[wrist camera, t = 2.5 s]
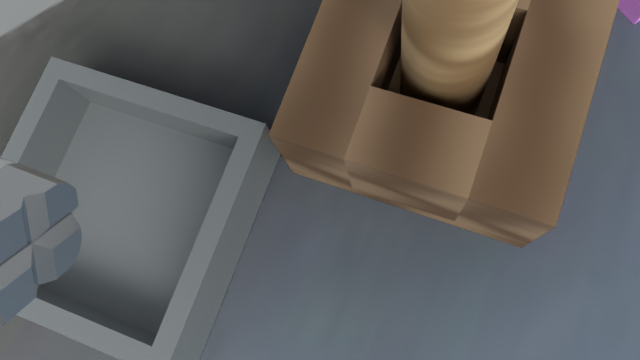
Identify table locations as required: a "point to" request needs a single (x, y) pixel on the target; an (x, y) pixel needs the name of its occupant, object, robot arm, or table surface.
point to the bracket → (630, 9)
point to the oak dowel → (451, 49)
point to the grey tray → (142, 208)
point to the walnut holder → (447, 117)
